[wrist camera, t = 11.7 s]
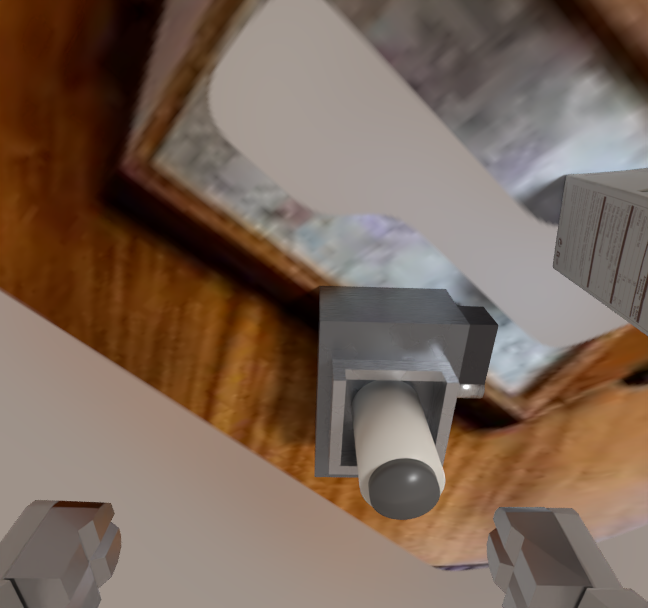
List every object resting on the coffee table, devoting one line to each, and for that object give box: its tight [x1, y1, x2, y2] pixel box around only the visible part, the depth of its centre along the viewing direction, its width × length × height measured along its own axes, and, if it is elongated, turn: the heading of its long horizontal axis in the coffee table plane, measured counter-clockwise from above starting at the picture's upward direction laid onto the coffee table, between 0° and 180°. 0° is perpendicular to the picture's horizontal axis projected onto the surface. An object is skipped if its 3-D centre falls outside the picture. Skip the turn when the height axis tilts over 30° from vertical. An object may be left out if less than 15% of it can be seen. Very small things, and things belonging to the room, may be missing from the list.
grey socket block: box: [315, 286, 498, 477], centre depth 33 cm, size 13×14×8 cm
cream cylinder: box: [351, 380, 445, 520], centre depth 28 cm, size 5×5×8 cm
